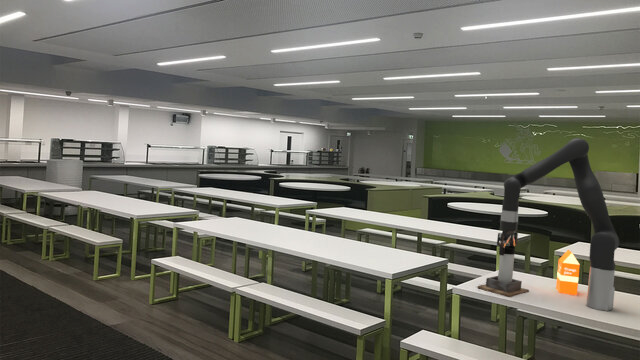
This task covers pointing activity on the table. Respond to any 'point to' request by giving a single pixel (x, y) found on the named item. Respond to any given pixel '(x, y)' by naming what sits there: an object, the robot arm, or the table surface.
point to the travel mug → (506, 265)
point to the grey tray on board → (503, 287)
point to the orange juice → (568, 274)
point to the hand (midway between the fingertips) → (506, 254)
